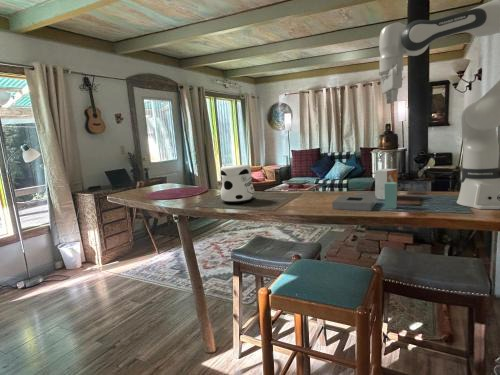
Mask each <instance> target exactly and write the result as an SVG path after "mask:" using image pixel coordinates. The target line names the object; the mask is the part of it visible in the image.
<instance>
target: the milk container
mask: <svg viewBox="0 0 500 375" xmlns="http://www.w3.org/2000/svg"><path fill="white" fill-rule="evenodd" d="M219 172H220V183H221V186H220V192H219V193H220V198H221V200H222V201H223V202H224V203H229V204H240V203H246V202H250V201H251V200H253V199H254V197H255V188H254V185H253V181H252V180H253V179H252V177H253V176H252V167H251V165H250V164H235V165H226V166H221V167H220V168H219Z"/></svg>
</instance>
